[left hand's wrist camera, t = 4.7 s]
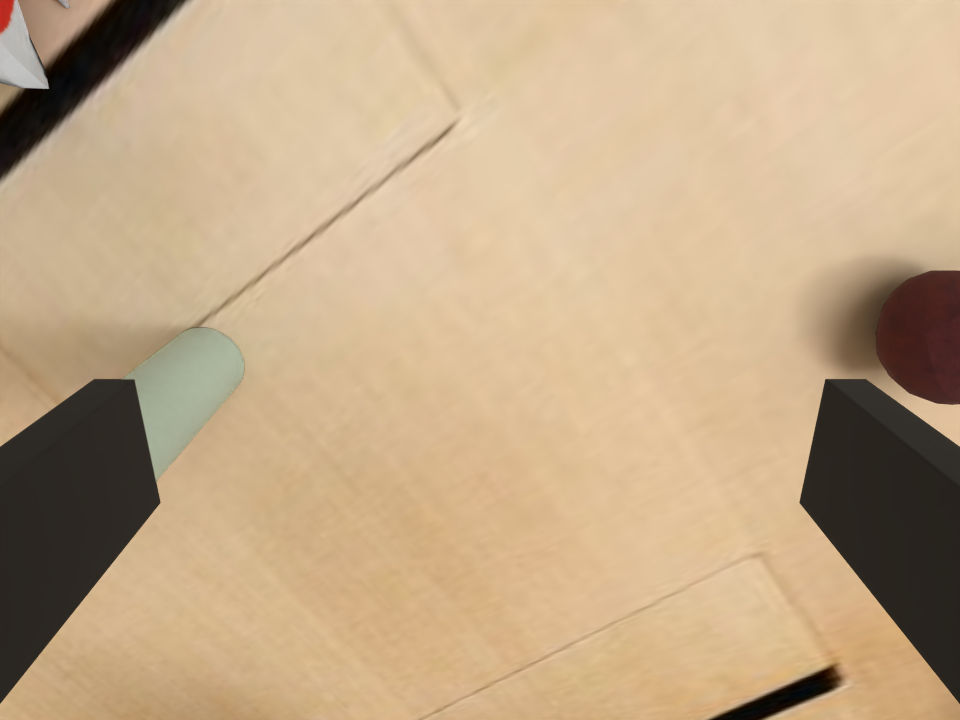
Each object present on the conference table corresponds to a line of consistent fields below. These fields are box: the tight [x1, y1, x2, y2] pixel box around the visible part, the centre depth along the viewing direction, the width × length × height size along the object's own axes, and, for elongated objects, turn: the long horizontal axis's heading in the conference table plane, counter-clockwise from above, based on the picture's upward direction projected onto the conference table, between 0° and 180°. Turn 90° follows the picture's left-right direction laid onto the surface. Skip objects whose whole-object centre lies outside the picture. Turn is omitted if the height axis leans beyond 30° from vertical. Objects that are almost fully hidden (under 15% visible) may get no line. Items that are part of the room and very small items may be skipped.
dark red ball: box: [875, 271, 960, 405], centre depth 38 cm, size 7×8×7 cm
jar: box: [122, 328, 244, 481], centre depth 34 cm, size 5×5×19 cm
